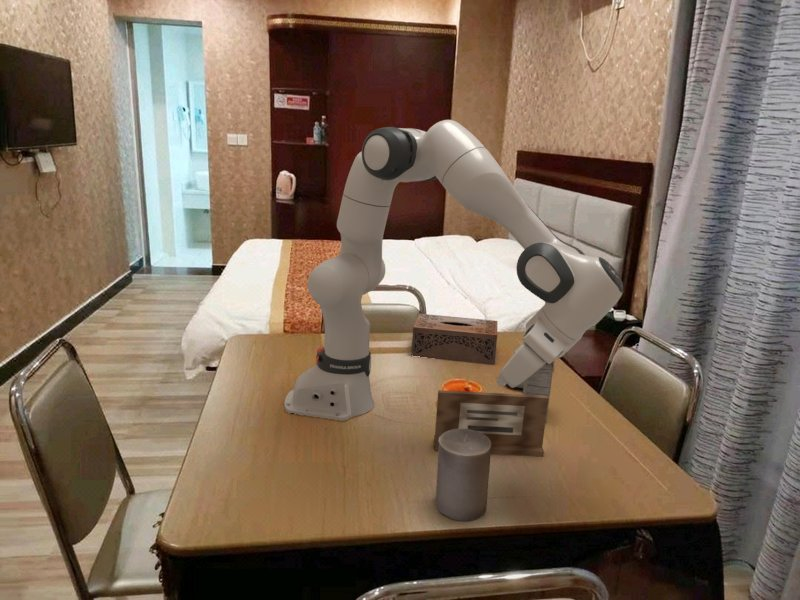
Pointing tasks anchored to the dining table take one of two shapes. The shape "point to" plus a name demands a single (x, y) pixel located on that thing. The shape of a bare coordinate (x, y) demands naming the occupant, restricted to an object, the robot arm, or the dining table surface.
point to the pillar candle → (463, 474)
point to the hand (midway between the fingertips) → (500, 382)
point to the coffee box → (540, 382)
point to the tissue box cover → (455, 339)
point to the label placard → (495, 419)
